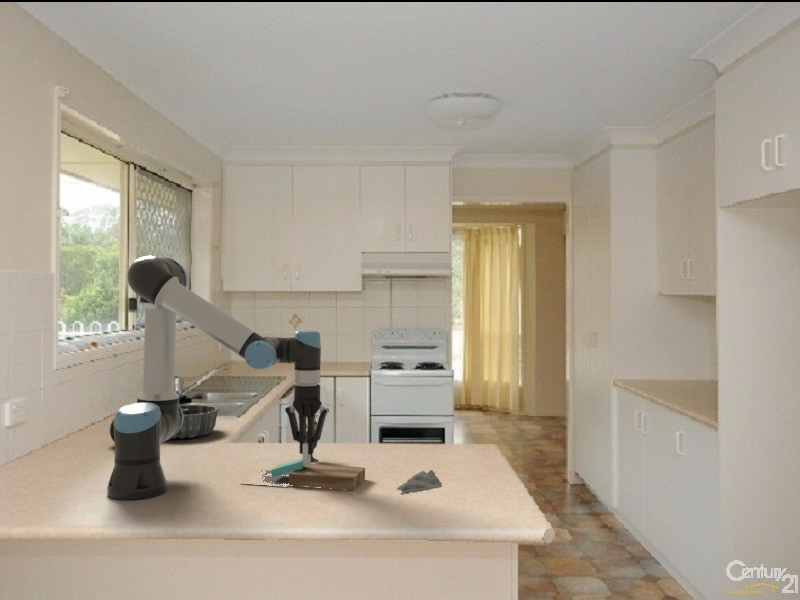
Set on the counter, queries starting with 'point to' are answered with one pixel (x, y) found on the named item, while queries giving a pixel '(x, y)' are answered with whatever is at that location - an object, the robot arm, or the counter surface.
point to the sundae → (314, 442)
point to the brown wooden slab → (328, 476)
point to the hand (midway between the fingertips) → (306, 465)
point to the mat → (276, 478)
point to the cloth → (421, 482)
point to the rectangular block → (287, 467)
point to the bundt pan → (197, 421)
